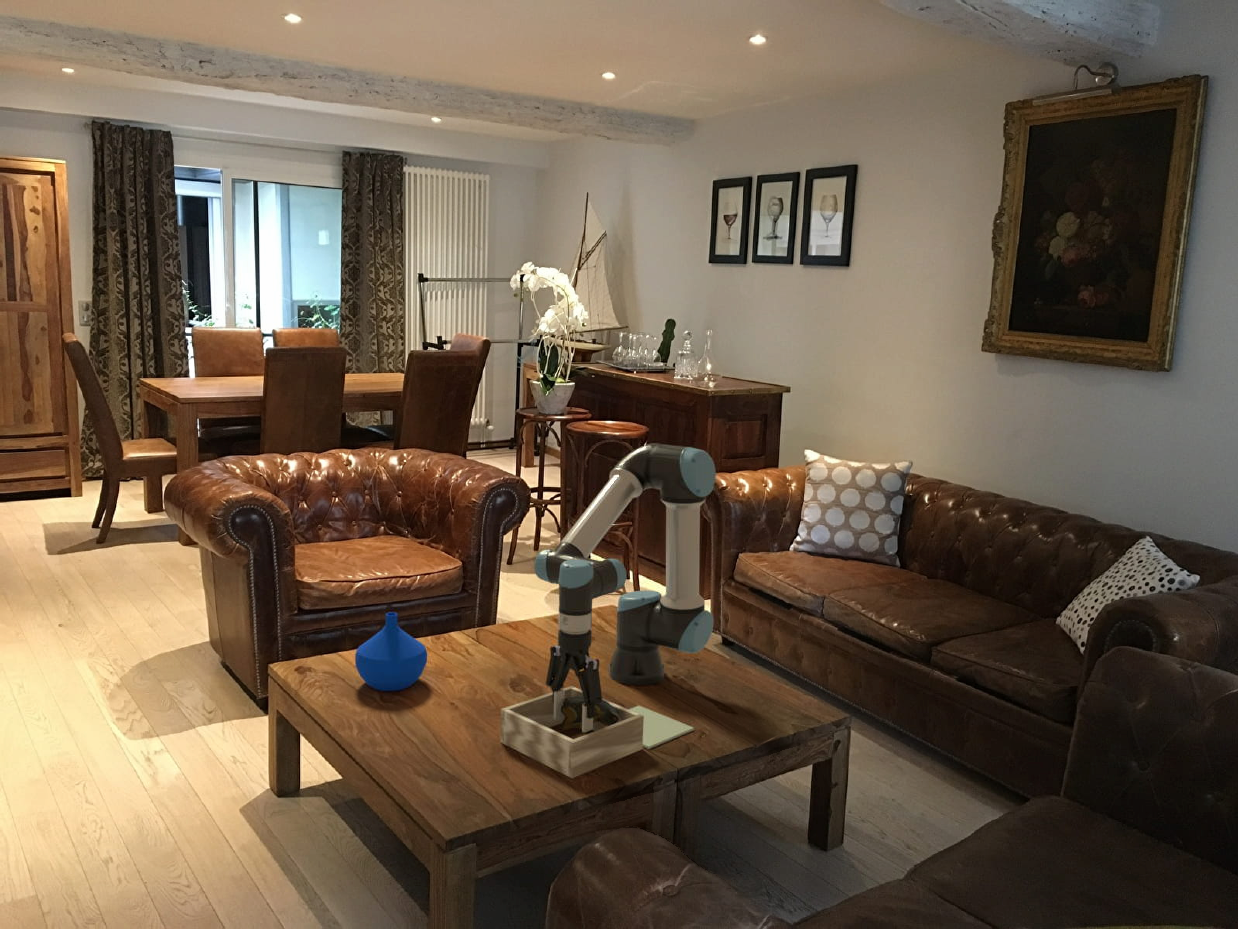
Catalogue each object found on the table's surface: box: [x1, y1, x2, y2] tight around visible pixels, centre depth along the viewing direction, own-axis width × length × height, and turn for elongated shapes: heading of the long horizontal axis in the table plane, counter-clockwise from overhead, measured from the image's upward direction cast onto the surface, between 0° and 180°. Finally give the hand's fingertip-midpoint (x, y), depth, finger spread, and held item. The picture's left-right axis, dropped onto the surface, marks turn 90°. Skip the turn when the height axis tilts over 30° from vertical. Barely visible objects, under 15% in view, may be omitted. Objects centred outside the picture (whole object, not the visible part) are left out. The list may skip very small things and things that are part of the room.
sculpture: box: [561, 696, 621, 731], centre depth 234 cm, size 13×6×7 cm, turn 84°
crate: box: [500, 685, 644, 779], centre depth 233 cm, size 24×22×8 cm
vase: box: [354, 611, 428, 692], centre depth 265 cm, size 18×18×19 cm
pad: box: [629, 705, 695, 750], centre depth 245 cm, size 18×16×1 cm
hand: (572, 723), depth 233 cm, fingers closed on sculpture, 9 cm apart
